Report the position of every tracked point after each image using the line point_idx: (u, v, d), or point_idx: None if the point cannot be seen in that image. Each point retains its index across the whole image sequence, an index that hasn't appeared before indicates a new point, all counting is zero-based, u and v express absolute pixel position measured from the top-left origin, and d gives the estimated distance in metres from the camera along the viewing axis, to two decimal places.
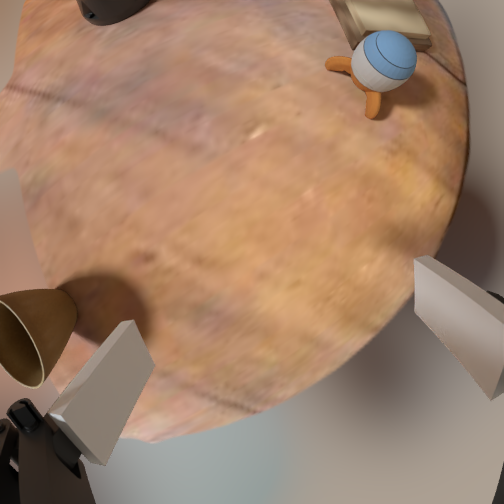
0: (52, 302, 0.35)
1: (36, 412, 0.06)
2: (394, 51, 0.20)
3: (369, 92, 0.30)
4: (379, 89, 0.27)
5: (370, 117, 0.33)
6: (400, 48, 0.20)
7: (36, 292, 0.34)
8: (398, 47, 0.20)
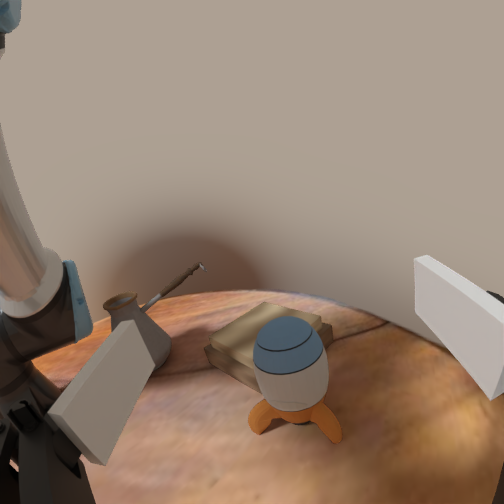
0: None
1: (36, 412, 0.06)
2: (279, 334, 0.23)
3: (312, 415, 0.24)
4: (313, 397, 0.23)
5: (338, 438, 0.22)
6: (282, 326, 0.23)
7: None
8: (280, 326, 0.23)
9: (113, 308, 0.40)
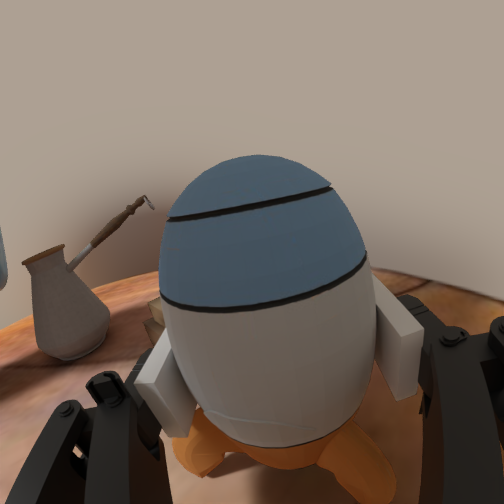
0: None
1: (123, 387, 0.07)
2: (228, 169, 0.07)
3: (324, 454, 0.08)
4: (336, 410, 0.07)
5: None
6: (240, 157, 0.07)
7: None
8: (235, 159, 0.07)
9: (28, 260, 0.24)
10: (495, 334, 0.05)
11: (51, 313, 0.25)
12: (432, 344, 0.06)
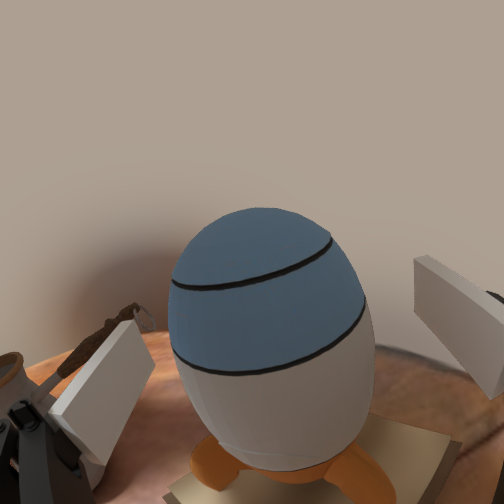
0: None
1: (36, 412, 0.06)
2: (228, 235, 0.07)
3: (329, 472, 0.08)
4: (338, 440, 0.07)
5: None
6: (239, 216, 0.08)
7: None
8: (234, 218, 0.08)
9: None
10: None
11: None
12: None
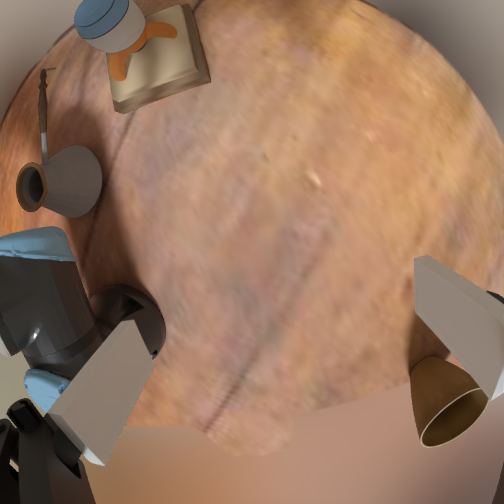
0: (428, 377, 0.39)
1: (36, 412, 0.06)
2: (96, 7, 0.15)
3: (147, 33, 0.25)
4: (142, 22, 0.22)
5: (175, 32, 0.27)
6: (92, 3, 0.15)
7: (418, 392, 0.39)
8: (91, 4, 0.15)
9: (45, 194, 0.27)
10: None
11: (79, 183, 0.33)
12: None
